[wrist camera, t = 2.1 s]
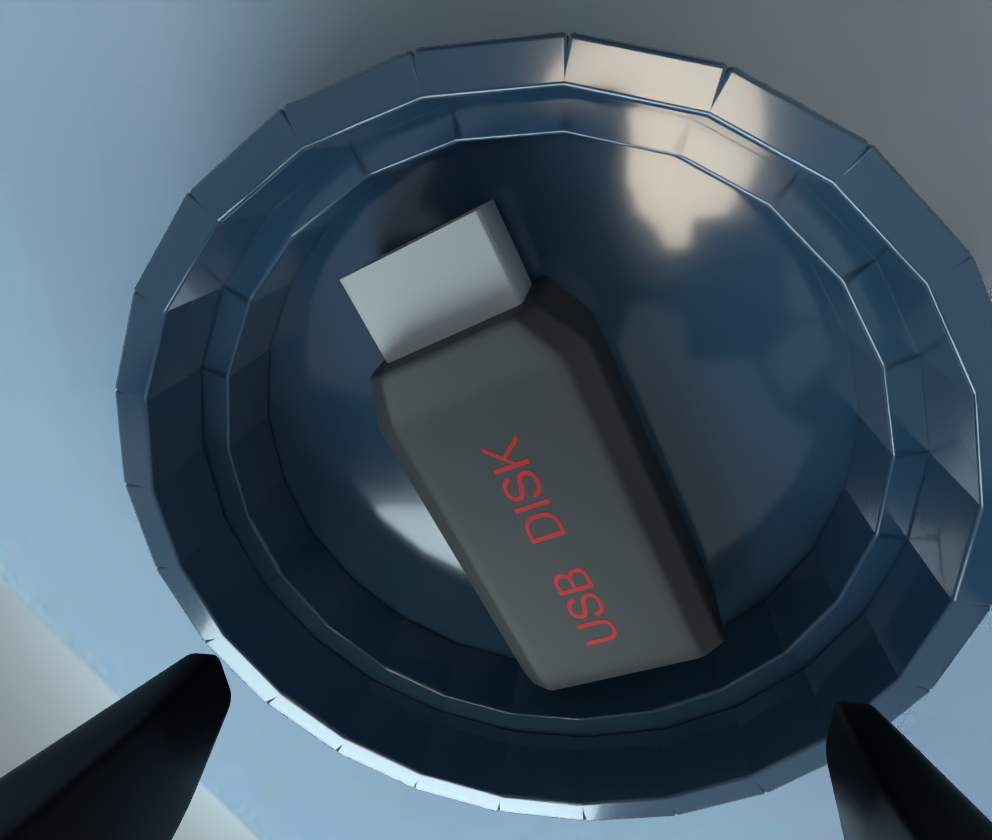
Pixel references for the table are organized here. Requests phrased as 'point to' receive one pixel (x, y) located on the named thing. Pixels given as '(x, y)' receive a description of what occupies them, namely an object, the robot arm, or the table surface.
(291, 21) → the table surface
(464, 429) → the usb drive
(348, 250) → the bowl
